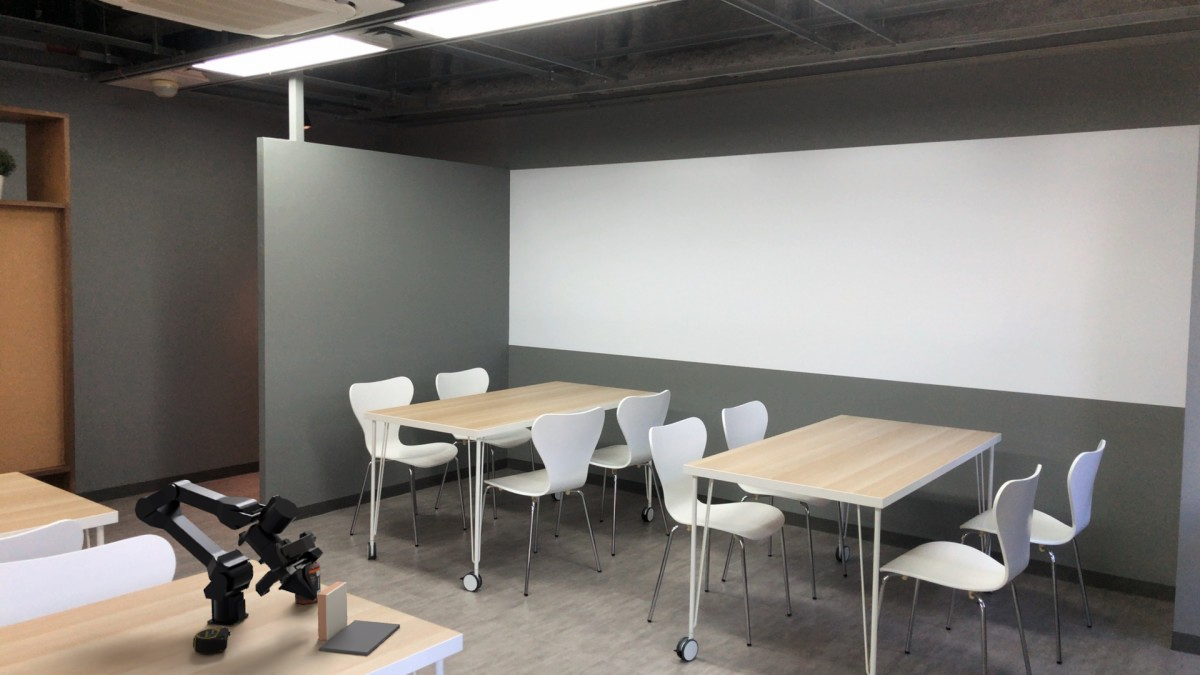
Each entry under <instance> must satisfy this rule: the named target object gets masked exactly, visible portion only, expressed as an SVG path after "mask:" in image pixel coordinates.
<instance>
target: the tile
mask: <svg viewBox="0 0 1200 675" xmlns="http://www.w3.org/2000/svg"><path fill="white" fill-rule="evenodd" d="M347 585H348V584H347V582H346V581H335V582H334V583H332V584H331V585H329V586H328V587H326V588H324V589H323V590H321V592H320V593H318V594H317V595H318V601H317V629H318V630H317V636H318V639H317V640H320V641H328V640H330V639H331V638H332V637H334V636H335V635H336V634H337V633H339V632H340V631H341V630H343V629H344V628H345V627H347V626H348V595H347V590H348V588H347V587H348V586H347Z"/></svg>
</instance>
